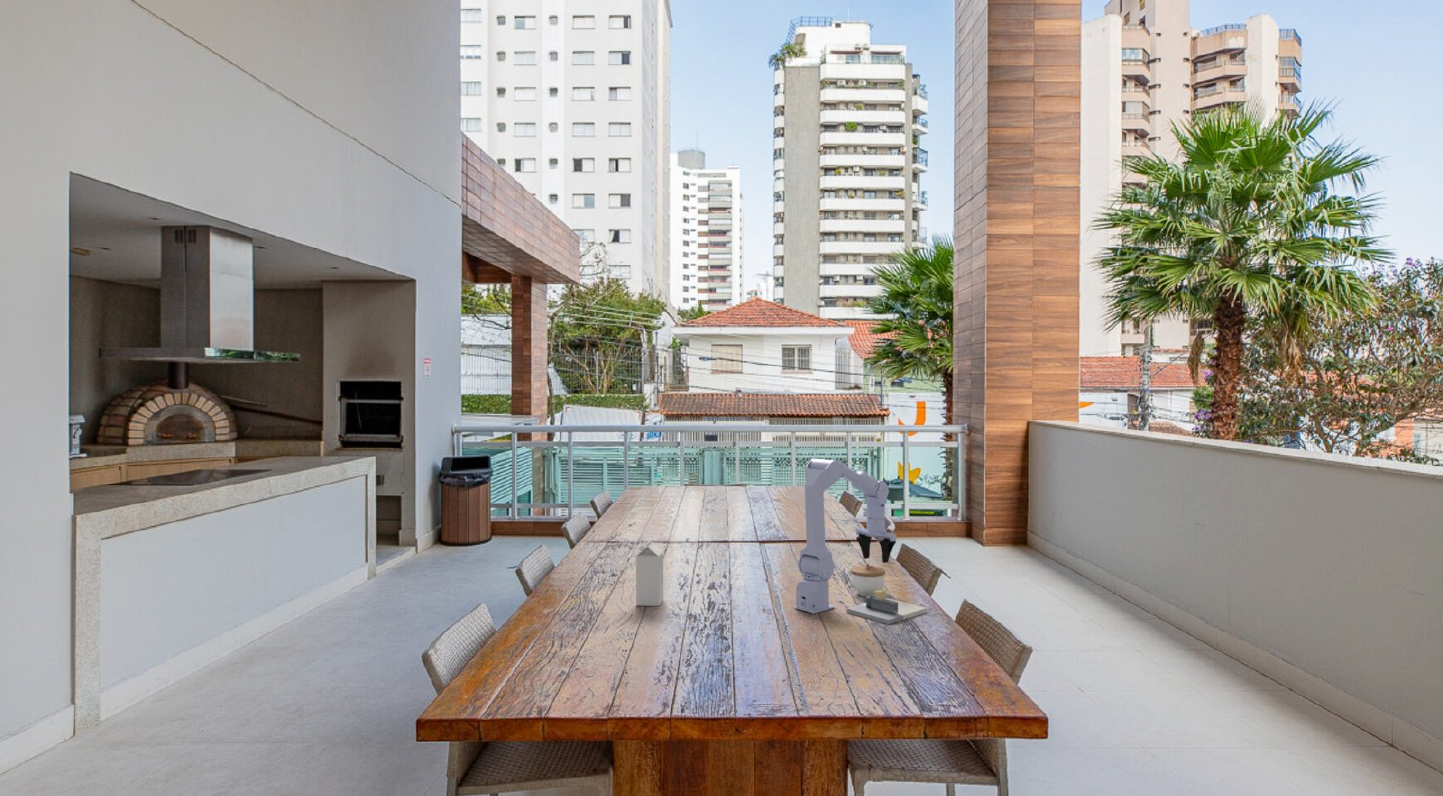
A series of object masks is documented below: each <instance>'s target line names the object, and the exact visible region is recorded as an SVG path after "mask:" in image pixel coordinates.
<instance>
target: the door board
mask: <svg viewBox="0 0 1443 796" xmlns="http://www.w3.org/2000/svg"><path fill="white" fill-rule="evenodd" d="M886 593H887V591H886V589H882V590H878V591H875V597H878V598H882V599H886V600H890V601H894V602H898V613H895V614H892V613H889V612H885V611H881V610H877V609H874V608H868V607H866V602H865V603H860V604H857V605H853V606H850V607H846V613H848V614H849V615H850V614H851V615H854V616H857V617H861V618H865V619H867V620H872V621H875V622H879V623H883V624H886V625H892V624H894V623H898V622H900V621H903V620H907V619H910V618H912V617H915V616H919V615H923V614H925V613H928V608H927V607H925V606H920V605H917V604H913V603H909V602H905V601H901V600H897V599H893V598H889V597H887V594H886Z"/></svg>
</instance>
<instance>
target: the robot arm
mask: <svg viewBox="0 0 1443 796" xmlns="http://www.w3.org/2000/svg"><path fill="white" fill-rule="evenodd" d="M804 468H805V469H804V470H805V484H804V499H805V500H804V502H805V503H804V506H805V508H804V509H805V529H806V530H805V531H806V532H805V533H806V534H805V535H806V545H805V546H804V547H802V548H801V549H800V550H799V557H798V558H799V559H798V564H797V565H798V567H797V568H798V570H799V572H800V573H801V577H802V578H803V579H802V580H801V581H799V582H798V583H797V585H796V589H795V591H796V596H795V598H796V599H795V603H796V604H795V605H794V607H793V608H794V609H797V610H800V611H804V612H807V613H810V614H816V613H817V614H818V613H821V612H826V611H828V610H832V609H834V608H836V607H835V605H832V604H829V602H830V601H829V597H830V596H829V595H830V594H829V592H830V591H829V587H830V585H829V584H830V583H829V580H831V578H832V576H833V574H834V572H835V562H834V560H833V554H832V551H831V550H830V548H829V547H828V546H827V545H826V527H825V526H826V525H825V502H824V501H825V499H824V498H825V497H824V495H825V494H824V493H825V491H826V490H827V489H830V488H831V487H832V486H834V485H835V484H836V483H838V481H840V480H841V479H843V480H846V481H848V482H850V485H851V487H852V488H853V489H855V490H857V491H858V492H861V493H862V494H863V496H864V497H866V528H861V527H859V528H856V529H855V535H857V536H856V538H855V539H856V541H857V543H858V544H859V547H860V550H861V553H862V556H863V559H865V560H866V559H870V555H871V554H870V553H871V542H872V539H873V538H875V539H881V540H879V545H880V548H881V560H882V563H883V564H887V563H889V561H890V557H891V553H892V551H893V548H894V546H895V544H896V543H897V534H895V533H891V532H889V531H886V504H887V498H888V495H889V493H890V489H889V486H888V484H887V483H886V482H885V481H884V480H877V477H875V476H871V475H870V474H868V471H866V470H859V471H855V470H854V469H852V468H850V467H849V466H848V465H846V464H845V463H844V462H843V461H840V460H839V459H821V458H816V457H814V458H811V459H810V460H809V461H808V463H807V464H806V465H805V467H804Z"/></svg>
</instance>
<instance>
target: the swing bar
mask: <svg viewBox="0 0 1443 796" xmlns="http://www.w3.org/2000/svg"><path fill="white" fill-rule="evenodd" d="M865 603H866V607H868V608H874V609H877V610H881V611H885V612H889V613H892V614H895V613H898V602H894V601H890V600H886V599H882V598H878V597H875V596H865Z"/></svg>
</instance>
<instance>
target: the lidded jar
mask: <svg viewBox="0 0 1443 796" xmlns="http://www.w3.org/2000/svg"><path fill="white" fill-rule="evenodd" d="M885 576H886V570H885V569H884V568H883V567H880V566H876V565H875V566H873V565H870V564H869V563H866V564H865V565H857V566H856V565H855V566H853V567H851V568H850V579H851V584H852V588H853V589H854V590H855V592H856V593H858V595H859V596H862V597H866V596H875V591H878V590H883V588H884V586H885V579H886V578H885Z"/></svg>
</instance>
